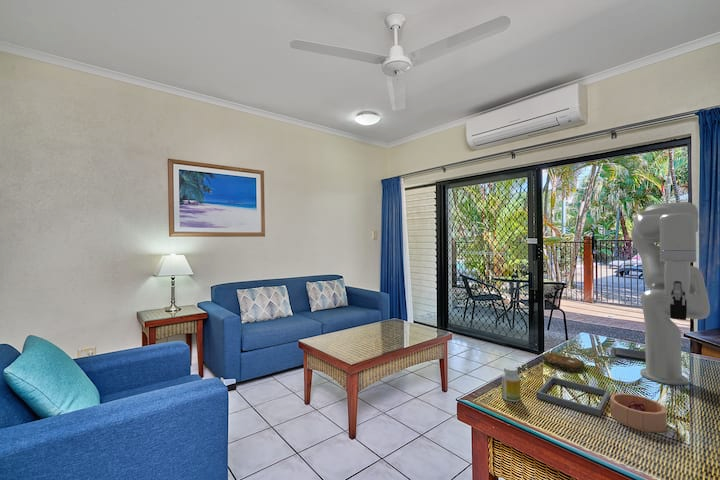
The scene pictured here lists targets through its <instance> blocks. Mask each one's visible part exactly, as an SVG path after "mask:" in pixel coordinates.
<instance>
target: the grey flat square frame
mask: <svg viewBox="0 0 720 480" xmlns="http://www.w3.org/2000/svg"><path fill="white" fill-rule="evenodd" d="M553 384H557V385H560V386H564V387H568V388H572V389H576V390H580V391H584V392H587V393H592V394H596V395H599V396H602V398H601V400H600V402H599V404H598V406H597V407H594V406H592V405H588V404H585V403H584V404H583V403H580V402H577V401H573V400H569V399H566V398H563V397H560V396H555V395H552V394H548V393H546V392H547V390H548V389H549V388H550V387H551V386H552V385H553ZM610 394H611V391H610V390H609V389H606V388H605V389H604V388H602V387H597V386H593V385H589V384H588V385H587V384H583V383H579V382H576V381H572V380H567V379H564V378H558V377H555V376H550V377H549V378H548V379H547V380H546V381H545V383H543V384H542V385H541V387H540V388H539V389H538V390H536V394H535V395H536V396H535V397H536V398H537V399H538V400H539V399H540V400H543V401H545V402H546V401H547V402H550V403H553V404H556V405H559V406H564V407H567V408H569V409H570V408H571V409H574V410H577V411H581V412H583V413H586V414H591V415H594V416H598V417H601V416H602V414H603V412H604V410H605V407H606V406H607V403H608V401H609V400H610V397H611V395H610Z"/></svg>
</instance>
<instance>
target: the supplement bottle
mask: <svg viewBox="0 0 720 480" xmlns="http://www.w3.org/2000/svg"><path fill="white" fill-rule="evenodd" d="M518 374H519V369H518V368H517V367H515V366H514V365H513V366H512V365H505V366H503V373H502V374H501V397H502V398H503V400H505V401H507V402H512V403H517V402H519V401H520V400H521V376H520V375H518Z"/></svg>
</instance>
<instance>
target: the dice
mask: <svg viewBox="0 0 720 480" xmlns="http://www.w3.org/2000/svg"><path fill="white" fill-rule="evenodd" d="M628 408H631V409H634V410H638V411H642V412H646V409H645V407H644V404H641V403H637V402H634V401H633V402H632V403H631V404H630V405H629V406H628Z"/></svg>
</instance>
